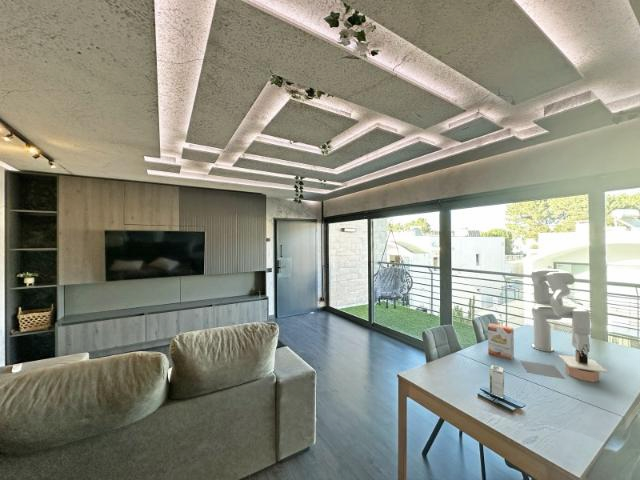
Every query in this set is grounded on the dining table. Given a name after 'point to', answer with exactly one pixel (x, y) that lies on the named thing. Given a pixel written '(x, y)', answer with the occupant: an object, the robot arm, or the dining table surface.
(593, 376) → the bowl
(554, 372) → the mat
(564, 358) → the lid
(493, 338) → the cracker box
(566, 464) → the dining table surface
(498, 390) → the syrup box
